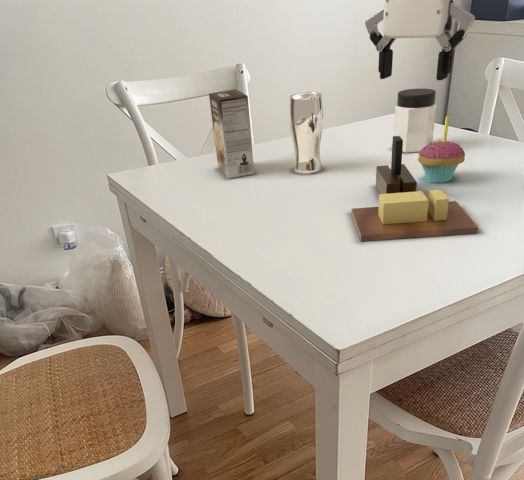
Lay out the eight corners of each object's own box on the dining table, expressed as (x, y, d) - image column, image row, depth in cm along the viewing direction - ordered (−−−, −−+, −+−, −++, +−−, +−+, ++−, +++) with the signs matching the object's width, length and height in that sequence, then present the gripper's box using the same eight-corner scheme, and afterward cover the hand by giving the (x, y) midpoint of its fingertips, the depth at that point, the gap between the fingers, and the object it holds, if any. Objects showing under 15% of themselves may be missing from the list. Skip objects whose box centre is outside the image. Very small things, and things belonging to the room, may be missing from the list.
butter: (420, 211, 90) (421, 190, 88) (426, 221, 86) (428, 200, 84) (378, 214, 91) (379, 194, 89) (382, 224, 87) (383, 203, 85)
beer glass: (322, 174, 114) (321, 97, 106) (290, 175, 116) (286, 99, 107) (325, 164, 120) (324, 91, 111) (294, 165, 121) (290, 93, 113)
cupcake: (422, 171, 111) (427, 108, 104) (465, 174, 107) (474, 109, 100) (412, 184, 104) (417, 119, 98) (457, 188, 101) (466, 120, 94)
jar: (428, 142, 128) (433, 87, 122) (435, 151, 122) (441, 93, 115) (390, 144, 129) (393, 90, 122) (395, 153, 123) (399, 96, 116)
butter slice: (439, 210, 90) (441, 189, 88) (446, 220, 86) (449, 198, 84) (427, 211, 90) (429, 190, 88) (434, 220, 86) (436, 199, 84)
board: (455, 206, 93) (456, 200, 93) (477, 233, 84) (478, 227, 83) (351, 213, 94) (351, 208, 94) (360, 241, 85) (360, 235, 84)
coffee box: (217, 168, 124) (207, 92, 115) (243, 164, 125) (236, 88, 116) (228, 179, 117) (218, 99, 108) (255, 174, 118) (249, 94, 109)
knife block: (402, 184, 105) (403, 163, 103) (415, 204, 96) (416, 181, 94) (375, 186, 105) (376, 166, 103) (385, 206, 96) (386, 184, 94)
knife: (394, 188, 103) (397, 133, 98) (401, 201, 98) (405, 142, 92) (387, 189, 103) (390, 133, 98) (394, 201, 98) (398, 143, 92)
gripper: (491, -59, 76) (474, 75, 86) (379, -47, 85) (375, 73, 95) (474, -59, 71) (457, 83, 81) (357, -46, 80) (354, 81, 90)
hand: (413, 78), depth 88 cm, fingers open, 9 cm apart
